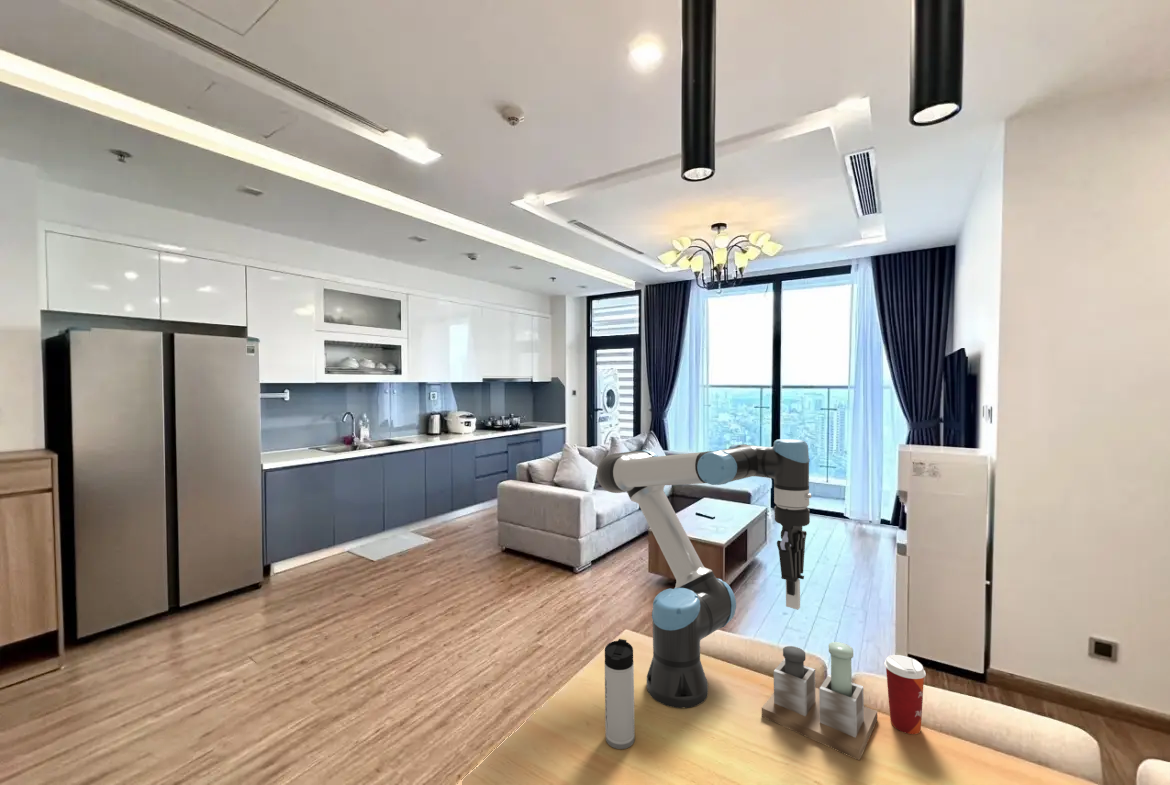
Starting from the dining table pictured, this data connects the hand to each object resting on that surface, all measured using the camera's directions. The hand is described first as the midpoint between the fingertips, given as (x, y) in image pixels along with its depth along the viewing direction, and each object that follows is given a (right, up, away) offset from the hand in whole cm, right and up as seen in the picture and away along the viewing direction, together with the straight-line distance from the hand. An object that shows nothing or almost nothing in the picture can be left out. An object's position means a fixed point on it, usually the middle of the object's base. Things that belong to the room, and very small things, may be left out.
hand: (793, 606), depth 112 cm
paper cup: (+23, -24, -5) cm, 33 cm away
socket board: (+5, -24, -3) cm, 25 cm away
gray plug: (0, -22, 0) cm, 22 cm away
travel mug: (-41, -25, -8) cm, 49 cm away
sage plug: (+8, -17, -7) cm, 20 cm away
